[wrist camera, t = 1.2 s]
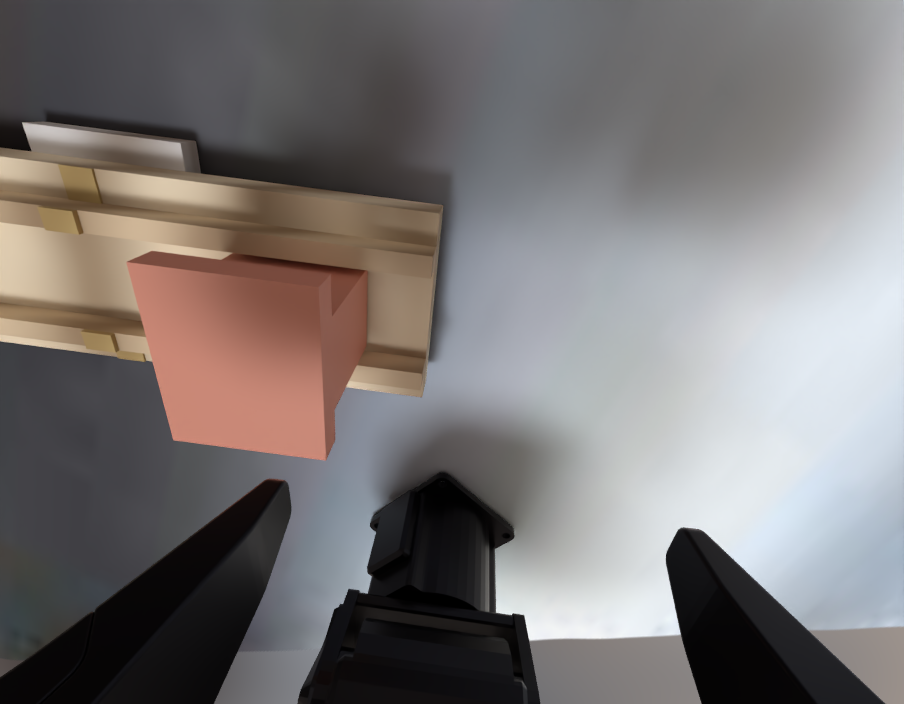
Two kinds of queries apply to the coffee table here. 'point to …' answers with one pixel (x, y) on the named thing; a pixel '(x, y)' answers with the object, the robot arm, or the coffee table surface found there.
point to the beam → (193, 243)
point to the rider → (251, 347)
